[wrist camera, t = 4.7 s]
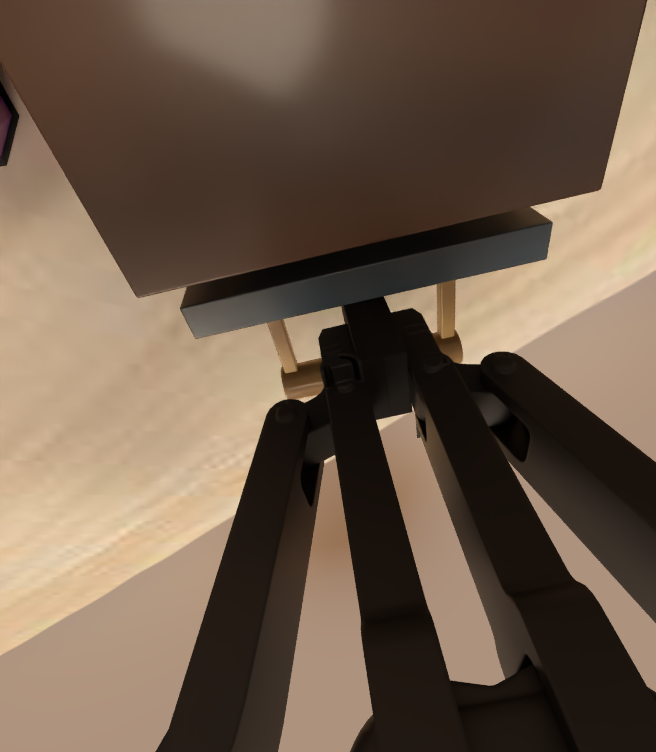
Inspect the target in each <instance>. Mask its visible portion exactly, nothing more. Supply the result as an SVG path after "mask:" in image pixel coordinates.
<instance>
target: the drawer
mask: <svg viewBox="0 0 656 752" xmlns="http://www.w3.org/2000/svg"><path fill="white" fill-rule="evenodd" d="M552 224H553V223H552V221H550V220H549V219H547V218H546V217H544V216H543V215H541V214H540V213H538V212H537V211H535V210H534V209H533V208H531V207H526V208H521V209H517V210H513V211H508V212H504V213H500V214H496V215H491V216H487V217H483V218H478V219H474V220H470V221H466V222H461V223H457V224H453V225H449V226H444V227H440V228H436V229H431V230H427V231H423V232H419V233H414V234H410V235H406V236H401V237H397V238H393V239H389V240H384V241H380V242H376V243H371V244H367V245H363V246H359V247H354V248H350V249H346V250H342V251H337V252H333V253H329V254H324V255H320V256H316V257H312V258H307V259H303V260H299V261H294V262H290V263H286V264H282V265H277V266H273V267H269V268H264V269H260V270H256V271H252V272H247V273H243V274H239V275H235V276H230V277H226V278H222V279H217V280H213V281H209V282H205V283H200V284H196V285H192V286H187V288H186V291H185V294H184V298H183V301H182V304H181V307H180V310H181V312H182V314H183V316H184V318H185V320H186V321H187V323H188V325H189V327H190V329H191V331H192V333H193V335H194V337H195V339H198V338H202V337H206V336H211V335H215V334H220V333H224V332H228V331H233V330H237V329H242V328H246V327H250V326H255V325H259V324H264V323H267V324H268V327H269V329H270V332H271V335H272V338H273V341H274V344H275V346H276V349H277V352H278V355H279V358H280V361H281V363H282V366H283V367H281V378H282V383H283V388H284V391H285V394H286V397H287V399H299V398H304V397H308V396H313V395H318V394H320V393H321V391H322V390H323V388H324V384H323V380H322V377H321V373H320V365H321V363H322V358H319V359H315V360H310V361H306V362H301V363H297V360H296V357H295V354H294V351H293V348H292V345H291V341H290V338H289V335H288V332H287V329H286V326H285V323H284V320H283V319H286V318H290V317H294V316H299V315H303V314H308V313H312V312H316V311H321V310H325V309H330V308H334V307H338V306H343V305H347V304H351V303H356V302H360V301H365V300H369V299H373V298H378V297H382V296H387V295H391V294H395V293H400V292H404V291H409V290H413V289H417V288H422V287H426V286H431V285H435V284H437V329H438V332H436V333H432V335H433V337H434V339H435V341H436V343H437V344H438V346H439V348H440V350H441V352H442V353H443V354H445V355H447V356H449V357H450V358H451V359H452V360H453V362H456V363H461V362H462V359H463V351H462V345H461V341H460V338H459V336H458V334H457V332H456V331H455V280H457V279H461V278H466V277H470V276H475V275H479V274H483V273H488V272H492V271H496V270H501V269H505V268H510V267H514V266H518V265H523V264H527V263H532V262H536V261H540V260H545V259H546V258H547V253H548V247H549V241H550V236H551V230H552Z"/></svg>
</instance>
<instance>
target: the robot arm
mask: <svg viewBox="0 0 656 752" xmlns="http://www.w3.org/2000/svg"><path fill="white" fill-rule="evenodd" d="M341 307H342V312H343V316H344V321H345V324H344V325H340V326H335V327H331V328H326V329H322V332H321V334H320V336H319V338H318V339H319V345H320V351H321V358H322V363H321V365H320V373H321V377H322V380H323V384H324V388H323V390H322V391H321V393H320V394H318V395H317V396H316V397H315V398H313V399H311V400H310V401H307V402H305V403H303V402H301V401H299V400H296V399H287V400H283V401H280V402H278V403H276V404H275V405H274V406H273V407H272V408H270V410H269V411H268V413H267V415H266V418H265V422H264V425H263V428H262V431H261V434H260V438H259V441H258V444H257V447H256V450H255V454H254V457H253V460H252V463H251V467H250V470H249V473H248V476H247V479H246V483H245V486H244V489H243V492H242V495H241V499H240V502H239V505H238V508H237V511H236V515H235V518H234V521H233V524H232V528H231V531H230V534H229V537H228V540H227V544H226V547H225V550H224V553H223V556H222V560H221V563H220V566H219V569H218V572H217V576H216V579H215V582H214V586H213V589H212V592H211V595H210V598H209V602H208V605H207V608H206V611H205V614H204V618H203V621H202V624H201V627H200V630H199V634H198V637H197V640H196V643H195V646H194V650H193V653H192V656H191V659H190V662H189V666H188V669H187V672H186V675H185V678H184V682H183V685H182V688H181V692H180V695H179V698H178V701H177V704H176V707H175V711H174V714H173V717H172V720H171V724H170V727H169V729H168V731H167V733H166V735H165V736H164V738H163V740H162V742H161V743H160V745H159V747H158V749H157V750H156V752H278V749H279V744H280V738H281V734H282V729H283V724H284V717H285V711H286V704H287V698H288V692H289V685H290V678H291V672H292V665H293V659H294V653H295V646H296V640H297V634H298V628H299V621H300V615H301V608H302V602H303V595H304V589H305V583H306V576H307V569H308V563H309V557H310V551H311V544H312V538H313V531H314V525H315V519H316V512H317V506H318V499H319V493H320V486H321V480H322V474H323V467H324V460H326V459H328V458H330V457H332V456H333V455H335V456H336V462H337V469H338V475H339V481H340V488H341V494H342V501H343V507H344V513H345V519H346V526H347V532H348V539H349V545H350V551H351V558H352V564H353V570H354V577H355V583H356V589H357V596H358V602H359V609H360V616H361V636H362V644H363V651H364V658H365V665H366V671H367V678H368V684H369V690H370V697H371V704H372V710H373V715H372V716H371V717H370V718H369V719H368V721H367V722H366V723H365V725H364V726H363V728H362V729H361V730H360V732H359V734H358V736H357V738H356V740H355V742H354V744H353V746H352V748H351V751H350V752H656V692H655V691H653V690H651V689H650V688H648V687H647V686H646V684H645V682H644V680H643V679H642V677H641V675H640V673H639V672H638V670H637V668H636V666H635V665H634V663H633V661H632V660H631V658H630V656H629V654H628V653H627V651H626V649H625V647H624V645H623V644H622V642H621V640H620V639H619V637H618V635H617V633H616V631H615V630H614V628H613V626H612V625H611V623H610V621H609V619H608V618H607V616H606V614H605V612H604V611H603V609H602V607H601V605H600V604H599V602H598V601H597V599H596V598H595V596H594V595H593V593H592V592H591V591H590V590H589V589H588V588H587V587H586V586H585V585H583V584H582V583H580V582H577V581H576V580H575V579H574V578H573V577H572V576H571V575H570V573H569V572H568V570H567V568H566V566H565V564H564V563H563V561H562V559H561V557H560V555H559V553H558V552H557V550H556V548H555V546H554V544H553V543H552V541H551V539H550V537H549V535H548V534H547V532H546V530H545V528H544V526H543V524H542V523H541V521H540V519H539V517H538V515H537V513H536V511H535V510H534V508H533V506H532V504H531V502H530V501H529V499H528V497H527V495H526V493H525V491H524V490H523V488H522V486H521V484H520V482H519V481H518V479H517V477H516V475H515V473H514V471H513V470H512V468H511V466H510V464H509V462H510V463H511V464H512V465H513V467H514V468H515V469H516V470H517V471H518V472H519V473H520V474H521V475H522V476H523V478H524V479H525V480H526V481H527V482H528V483H529V484H530V485H531V486H532V487H533V489H534V490H535V491H536V492H537V493H538V494H539V495H540V496H541V497H542V498H543V499H544V501H545V502H546V503H547V504H548V505H549V506H550V507H551V508H552V510H553V511H554V512H555V513H556V514H557V515H558V516H559V517H560V518H561V519H562V520H563V522H564V523H565V524H566V525H567V526H568V527H569V528H570V529H571V530H572V531H573V533H574V534H575V535H576V536H577V537H578V538H579V539H580V540H581V541H582V543H583V544H584V545H585V546H586V547H587V548H588V549H589V550H590V551H591V552H592V554H593V555H594V556H595V557H596V558H597V559H598V560H599V561H600V562H601V563H602V564H603V565H604V567H605V568H606V569H607V570H608V571H609V572H610V573H611V574H612V576H613V577H614V578H615V579H616V580H617V581H618V582H619V583H620V584H621V585H622V586H623V588H624V589H625V590H626V591H627V592H628V593H629V594H630V595H631V596H632V598H633V599H634V600H635V601H636V602H637V603H638V604H639V605H640V606H641V607H642V609H643V610H644V611H645V612H646V613H647V614H648V615H649V616H650V617H651V618H652V620H653V621H654V622H655V623H656V462H655V461H653V460H652V459H651V458H650V457H648V456H647V455H646V454H644V453H643V452H642V451H641V450H639V449H638V448H637V447H636V446H634V445H633V444H632V443H631V442H629V441H628V440H626V439H625V438H624V437H623V436H621V435H620V434H619V433H618V432H617V431H615V430H614V429H613V428H611V427H610V426H609V425H608V424H606V423H605V422H604V421H603V420H601V419H600V418H599V417H597V416H596V415H595V414H593V413H592V412H591V411H589V410H588V409H587V408H586V407H584V406H583V405H582V404H581V403H580V402H578V401H577V400H576V399H574V398H573V397H572V396H571V395H569V394H568V393H567V392H566V391H564V390H563V389H562V388H560V387H559V386H558V385H557V384H555V383H554V382H553V381H552V380H550V379H549V378H548V377H546V376H545V375H544V374H543V373H541V372H540V371H539V370H537V369H536V368H535V367H534V366H532V365H531V364H530V363H529V362H527V361H526V360H525V359H523V358H522V357H520V356H518V355H517V354H514V353H510V352H495V353H491V354H489V355H487V356H485V357H484V358H483V360H482V361H481V364H460V363H456V362H453V360H452V359H451V358H450V357H449V356H447V355H445V354H443V353H442V352H441V350H440V348H439V346H438V344H437V343H436V341H435V339H434V337H433V335H432V333H431V331H430V330H429V328H428V326H427V324H426V322H425V320H424V318H423V316H422V314H421V313H419V312H417V311H416V310H414V309H413V308H410V309H406V310H401V311H397V312H392V313H391V312H390V310H389V308H388V305H387V303H386V301H385V298H384V296H382V297H378V298H373V299H369V300H365V301H360V302H356V303H351V304H347V305H343V306H341ZM412 406H413V408H414V411H415V416H416V429H417V438H420V435H421V438H422V441H423V444H424V446H425V449H426V452H427V454H428V457H429V460H430V463H431V465H432V468H433V471H434V473H435V476H436V479H437V482H438V484H439V487H440V489H441V492H442V495H443V498H444V501H445V503H446V506H447V509H448V511H449V514H450V517H451V520H452V522H453V525H454V528H455V530H456V533H457V536H458V539H459V542H460V544H461V547H462V550H463V552H464V555H465V558H466V560H467V563H468V566H469V569H470V572H471V574H472V577H473V579H474V582H475V585H476V588H477V590H478V593H479V596H480V599H481V601H482V604H483V607H484V609H485V612H486V615H487V618H488V621H489V623H490V626H491V629H492V632H493V635H494V639H495V644H496V649H497V654H498V657H499V661H500V664H501V667H502V670H503V673H504V676H505V680H503V681H502V682H500V683H498V684H496V685H492V686H487V685H480V684H471V683H464V682H457V681H450V679H449V675H448V672H447V669H446V665H445V661H444V657H443V654H442V650H441V647H440V643H439V640H438V636H437V633H436V629H435V626H434V622H433V620H432V616H431V614H430V612H429V609H428V606H427V604H426V600H425V597H424V593H423V590H422V586H421V582H420V578H419V575H418V571H417V567H416V564H415V560H414V557H413V553H412V549H411V546H410V542H409V538H408V535H407V531H406V527H405V524H404V520H403V517H402V513H401V509H400V506H399V502H398V498H397V495H396V491H395V488H394V484H393V480H392V477H391V473H390V469H389V466H388V462H387V459H386V455H385V451H384V448H383V444H382V440H381V437H380V433H379V429H378V426H377V422H376V420H378V419H382V418H387V417H391V416H396V415H401V414H405V413H410V412H412ZM508 461H509V462H508Z"/></svg>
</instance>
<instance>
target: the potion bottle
mask: <svg viewBox="0 0 656 752" xmlns="http://www.w3.org/2000/svg"><path fill="white" fill-rule="evenodd" d="M18 119H19V115H18V113H17V111H16V109H15V107H14V105H13V104H12V102H11V100H10V98H9V96H8V94H7V93H6V91H5V89H4V87H3V85H2V84H1V82H0V166H6V165H7V162H8V158H9V155H10V151H11V147H12V143H13V139H14V135H15V131H16V127H17V123H18Z"/></svg>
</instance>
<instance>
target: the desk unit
mask: <svg viewBox="0 0 656 752" xmlns="http://www.w3.org/2000/svg"><path fill="white" fill-rule="evenodd" d="M646 3H647V0H0V64H1V65H2V67H3V69H4V70H5V72H6V74H7V76H8V77H9V79H10V81H11V82H12V84H13V86H14V88H15V89H16V91H17V93H18V94H19V96H20V98H21V100H22V101H23V103H24V105H25V106H26V108H27V110H28V112H29V113H30V115H31V117H32V119H33V120H34V122H35V124H36V125H37V127H38V129H39V131H40V132H41V134H42V136H43V137H44V139H45V141H46V143H47V144H48V146H49V148H50V149H51V151H52V153H53V155H54V156H55V158H56V160H57V161H58V163H59V165H60V167H61V168H62V170H63V172H64V173H65V175H66V177H67V179H68V180H69V182H70V184H71V185H72V187H73V189H74V191H75V192H76V194H77V196H78V197H79V199H80V201H81V203H82V204H83V206H84V208H85V209H86V211H87V213H88V215H89V216H90V218H91V220H92V221H93V223H94V225H95V227H96V228H97V230H98V232H99V234H100V235H101V237H102V239H103V240H104V242H105V244H106V246H107V247H108V249H109V251H110V252H111V254H112V256H113V258H114V259H115V261H116V263H117V264H118V266H119V268H120V270H121V271H122V273H123V275H124V276H125V278H126V280H127V282H128V283H129V285H130V287H131V288H132V290H133V292H134V294H135V295H136V297H137V298H140V297H145V296H149V295H153V294H157V293H162V292H166V291H170V290H175V289H179V288H183V287H187V286H192V285H196V284H200V283H205V282H209V281H213V280H217V279H222V278H226V277H230V276H235V275H239V274H243V273H247V272H252V271H256V270H260V269H264V268H269V267H273V266H277V265H282V264H286V263H290V262H294V261H299V260H303V259H307V258H312V257H316V256H320V255H324V254H329V253H333V252H337V251H342V250H346V249H350V248H354V247H359V246H363V245H367V244H371V243H376V242H380V241H384V240H389V239H393V238H397V237H401V236H406V235H410V234H414V233H419V232H423V231H427V230H431V229H436V228H440V227H444V226H449V225H453V224H457V223H461V222H466V221H470V220H474V219H478V218H483V217H487V216H491V215H496V214H500V213H504V212H508V211H513V210H517V209H521V208H526V207H530V206H534V205H538V204H543V203H547V202H551V201H556V200H560V199H564V198H568V197H573V196H577V195H581V194H585V193H590V192H594V191H598V190H600V189H601V187H602V183H603V179H604V175H605V171H606V167H607V163H608V159H609V155H610V151H611V146H612V142H613V138H614V134H615V130H616V126H617V122H618V118H619V114H620V110H621V106H622V101H623V97H624V93H625V89H626V85H627V81H628V77H629V73H630V69H631V65H632V61H633V56H634V52H635V48H636V44H637V40H638V36H639V32H640V28H641V24H642V20H643V16H644V12H645V7H646Z"/></svg>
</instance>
